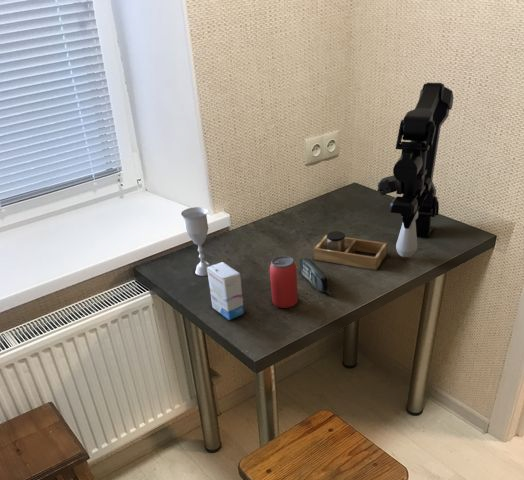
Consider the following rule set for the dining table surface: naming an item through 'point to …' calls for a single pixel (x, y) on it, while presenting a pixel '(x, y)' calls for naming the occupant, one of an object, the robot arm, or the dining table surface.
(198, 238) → the chalice
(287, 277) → the beer can
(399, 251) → the salt shaker
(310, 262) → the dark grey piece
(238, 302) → the ink box
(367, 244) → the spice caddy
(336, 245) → the cylinder
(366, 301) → the dining table surface
